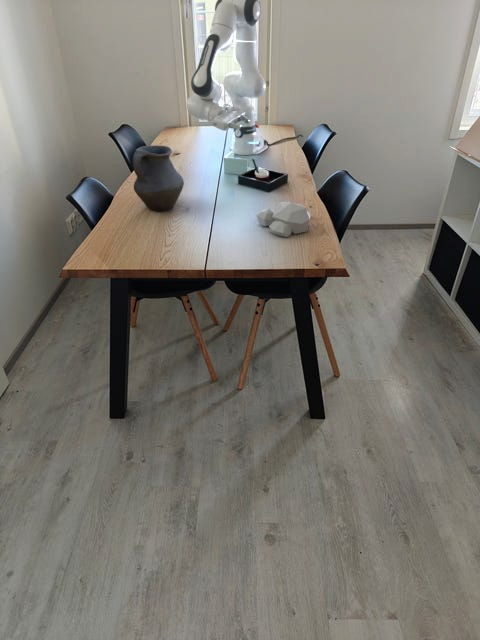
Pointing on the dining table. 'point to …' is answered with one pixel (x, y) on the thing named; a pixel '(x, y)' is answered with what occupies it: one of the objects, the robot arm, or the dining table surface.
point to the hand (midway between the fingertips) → (244, 124)
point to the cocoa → (261, 173)
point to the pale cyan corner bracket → (235, 164)
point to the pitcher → (156, 177)
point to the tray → (273, 181)
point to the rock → (285, 219)
